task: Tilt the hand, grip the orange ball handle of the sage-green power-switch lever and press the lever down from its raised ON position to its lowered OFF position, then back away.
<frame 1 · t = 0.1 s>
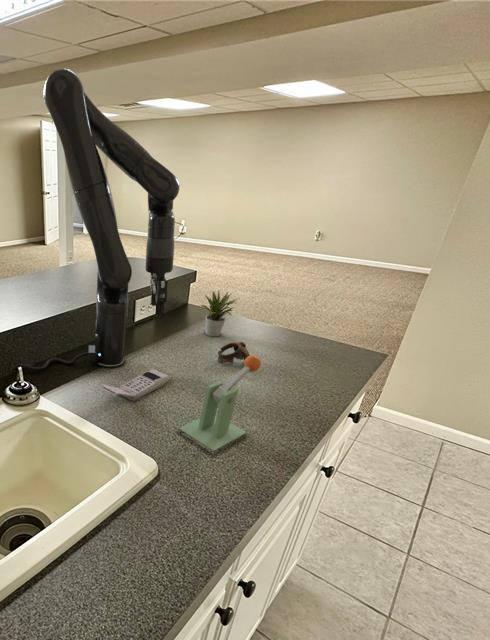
hand: (156, 310, 119), 17 cm above the worktop, tool pointing down, fingers open, 8 cm apart
switch lever: (237, 378, 90), point 14 cm above the worktop, hinge at 28.0°
power switch: (211, 435, 94), on the worktop
mobile phone: (137, 393, 111), on the worktop
house plant: (212, 335, 148), on the worktop
brown curved piece: (234, 364, 128), on the worktop
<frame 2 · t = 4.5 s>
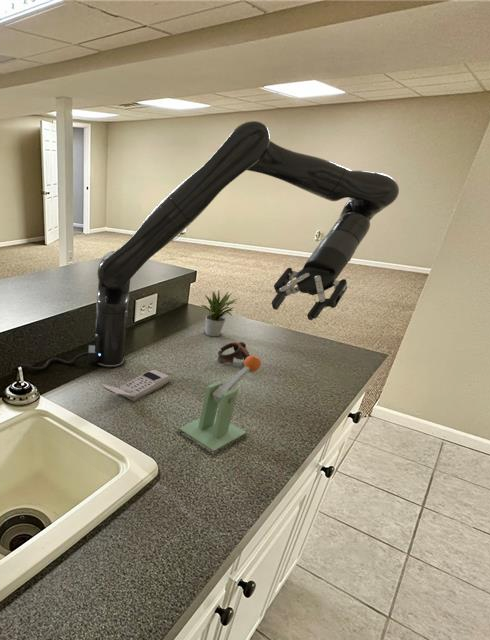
hand: (291, 312, 93), 26 cm above the worktop, tool tilted 45°, fingers open, 8 cm apart
nothing on the worktop moved.
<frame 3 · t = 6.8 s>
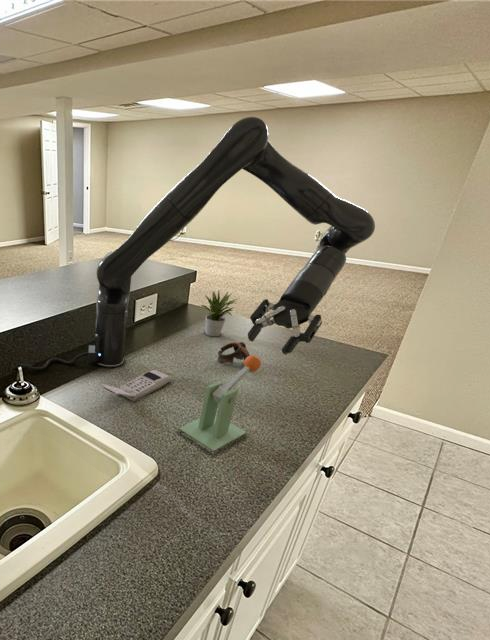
hand: (266, 345, 92), 19 cm above the worktop, tool tilted 45°, fingers open, 8 cm apart
nothing on the worktop moved.
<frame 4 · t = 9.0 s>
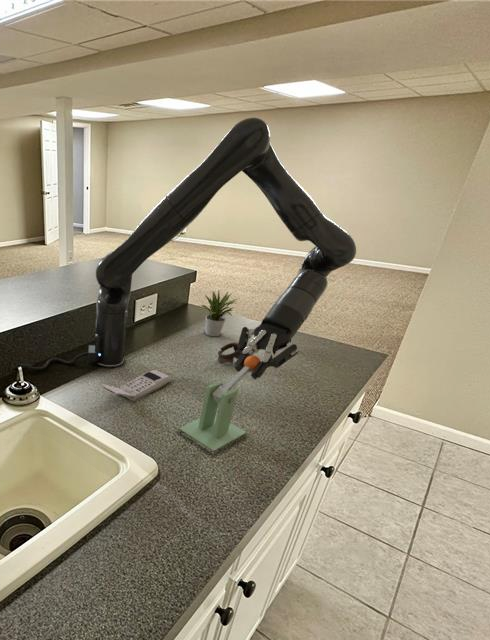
hand: (245, 373, 91), 14 cm above the worktop, tool tilted 45°, fingers closed on switch lever, 3 cm apart
switch lever: (237, 378, 90), point 14 cm above the worktop, hinge at 28.0°, touching gripper
everything else where it was.
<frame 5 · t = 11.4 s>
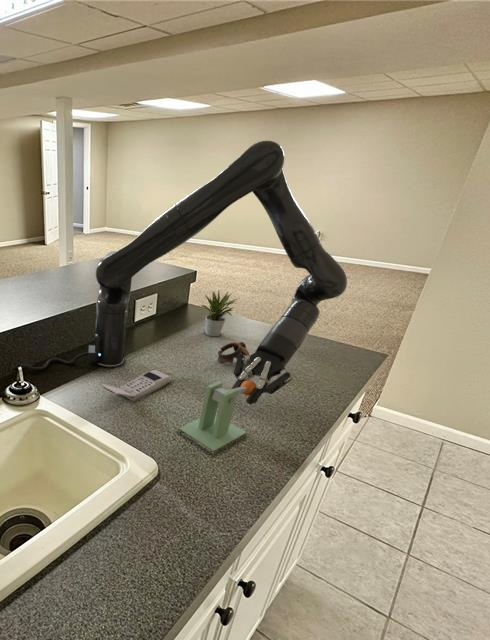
hand: (241, 398, 95), 7 cm above the worktop, tool tilted 45°, fingers closed on switch lever, 3 cm apart
switch lever: (235, 391, 92), point 10 cm above the worktop, hinge at -8.7°, touching gripper
everything else where it was.
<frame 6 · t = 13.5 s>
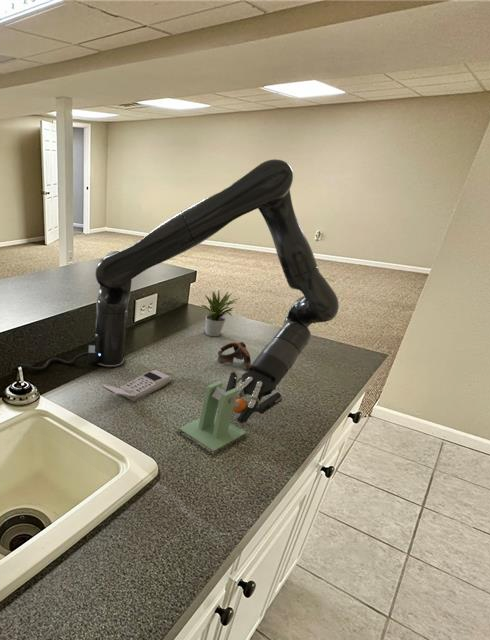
hand: (232, 417, 97), 3 cm above the worktop, tool tilted 45°, fingers closed on switch lever, 3 cm apart
switch lever: (231, 400, 93), point 8 cm above the worktop, hinge at -33.7°, touching gripper
everything else where it was.
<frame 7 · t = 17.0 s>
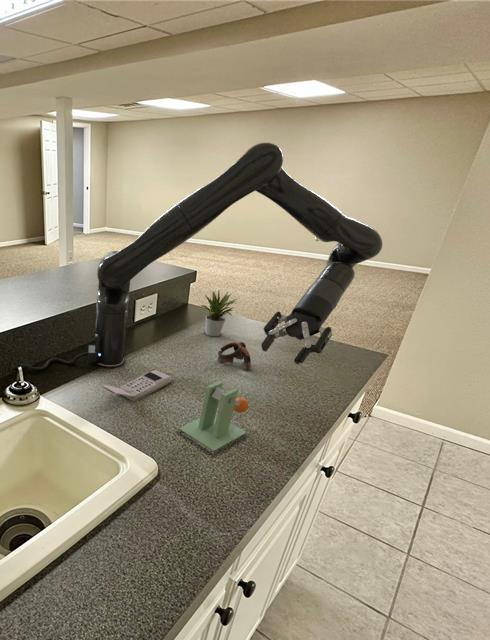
hand: (279, 356, 98), 15 cm above the worktop, tool tilted 45°, fingers open, 8 cm apart
switch lever: (231, 400, 93), point 8 cm above the worktop, hinge at -32.4°
everything else where it was.
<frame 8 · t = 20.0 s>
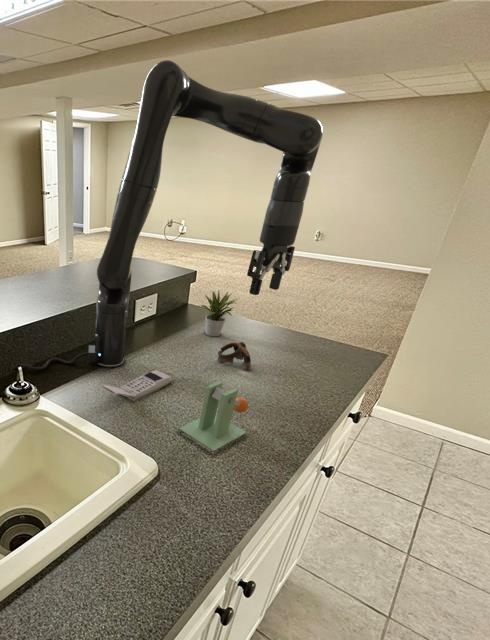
hand: (263, 291, 100), 28 cm above the worktop, tool pointing down, fingers open, 8 cm apart
nothing on the worktop moved.
at the end: switch lever at -32° (first picture: +28°) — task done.
